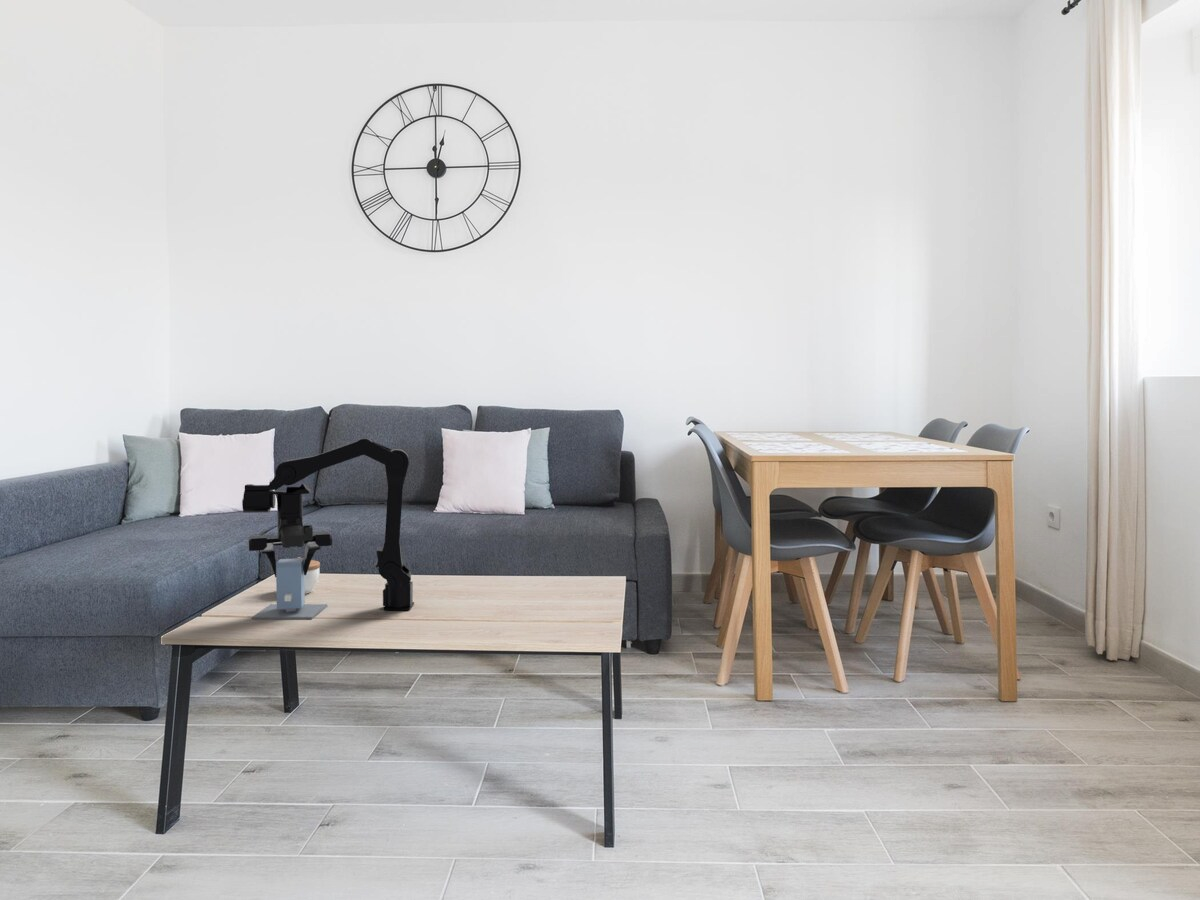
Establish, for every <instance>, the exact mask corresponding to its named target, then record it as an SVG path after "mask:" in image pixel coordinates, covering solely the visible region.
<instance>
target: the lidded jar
mask: <svg viewBox="0 0 1200 900" xmlns="http://www.w3.org/2000/svg"><path fill="white" fill-rule="evenodd" d="M296 559H302V557H300V556H298V557H296ZM320 567H321V562H320V561H318V560H314V559H311V562H310V565H309V568H308V571H307V574H306V575H304V580H305V595H306V594H309V593H311V592H312V590H314V588H315V587H316V586H317V584H318V581H319V579H320Z"/></svg>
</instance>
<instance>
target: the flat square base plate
mask: <svg viewBox="0 0 1200 900" xmlns="http://www.w3.org/2000/svg"><path fill="white" fill-rule="evenodd" d="M327 607H328V604H327V603H324V604H323V603H318V604H317V603H313V604H312V603H304V605H303V606H302V608H295V609H277V603H270V604H269V605H267V606H265V607H264V608H263V609H261V610H260V611H259V612H257V613H255V614H254V615H253V616H251V619H252V620H313V619H314V618H315V617H317V616H318V615H319V614H320V613H322V612H323V611H324V610H325V609H326V608H327Z"/></svg>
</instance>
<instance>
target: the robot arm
mask: <svg viewBox="0 0 1200 900" xmlns="http://www.w3.org/2000/svg"><path fill="white" fill-rule="evenodd" d="M360 456H366V457H368V458H370V459H372V460H374V461H376V462H378V463H380V464H383V465H385V466H384V467H385V473H386V474H385V475H386V480H387V481H386V482H387V496H386V497H387V500H386V518H385V533H384V542H383V546H377V549H376V555H377V556H376V557H377V560H376V563H375V568H376V569H378V574H379V575H380V576H381V577H382V578H383V579H384V580H386V583H385V584H384V589H383V590H382V607H383V608H382V609H383V611H410V610H411V609H412V608H413V607H414V605H415V602H413V598H414V597H413V596H414V594H413V592H414V590H413V587H414V586H413V585H414V583H413V581H411V580H412V571H411V570H410V569H409V568H408V567H406V565H404V564H403V556H402V548H401V542H400V541H401V539H400V537H401V521H402V505H403V489H404V484H405V481H406V477H407V473H408V468H409V465H410V464H409V463H410V460H409V459H410V458H409V455H408V453H407V452H406V451H405V450H403V449H401V448H393V449H391V448H390V447H388V446H385V445H383V444H379V443H378V442H375V441H373V440H372V439H370V438H368V437H363V438H360V439H359V440H357V441H354V442H350V443H348V444H345V445H342V446H339V447H337V448H334V449H330V450H328V451H325V452H321V453H319V454H316V455H312V456H303V457H298V458H293V459H288V460H285V461H283V462H282V463H281V462H280V463H279V464H278V465H277V467H276V469H275V474H274V475H275V476H274V478H272V480H270V481H269V484H253V483H252V484H249V483H247V484H245V485H244V492H243V495H242V496H243V497H242V501H241V504H242V511H243V513H244V514H258V513H259V514H265V513H270V512H271V509H275V508H276V509H277V510H276V511H277V512H276V513H277V521H276V522H277V528H276V529H277V537H269V538H268V537H267V536H266V535H265V534H260V535H249V537H248V538H247V549H248V551H249V552H251V551H252V552H253V551H255V552H257V551H260V554H266V557H267V559H268V561H269V563H270V566H271V569H272V571H273V574H274V578H276V563H277V561H276V554H275V551H276V550H275V549H274V546H282V548H286V549H288V548H292V547H293V548H295V547H296V548H302V547H304V546H305V547H304V548H305V551H304V557H303V558H304V575H306V574H307V571H308V568H309V565H310V562H311V560H313V557H314V555H315V553H317V551H320V550H321V548H322V547H330V546H333V536H332V535H331V533H329V532H328V531H325V530H324V531H313V525H312V524H306V525H305V524H304V523H303V522H304V521H303V519H304V517H303V513H304V512H303V510H304V509H303V502H304V501H303V495H304V494H305V495H307V494H310V493H311V492H312V489H310V488H309V487H308V486H307V485H306V484H305V483H301V485H300V486H293V485H295V484H296V483H298V482H300V481H302V480H304V479H305V478H307V477H310V476H311V475H313V474H315V473H316V472H318V471H321V470H324V469H326V468H329V467H332V466H335V465H338V464H340V463H341V464H342V463H344V462H347V461H349V460H353V459H355V458H358V457H360ZM283 486H287V487H286V489H285V490H278V489H280V488H281V487H283ZM276 503H277V505H276Z"/></svg>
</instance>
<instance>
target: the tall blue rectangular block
mask: <svg viewBox="0 0 1200 900" xmlns="http://www.w3.org/2000/svg"><path fill="white" fill-rule="evenodd" d="M304 558H305V557H303V558H301V559H297V558H281V559H279V560H277V561H276V577H275V579H276V580H275V583H276V584H275V585H276V588H275V589H276V604H277V609H295V608H302V606H303V605H304V604H306V603H305V602H306V597H305V596H306V594H305V580H304Z"/></svg>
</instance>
